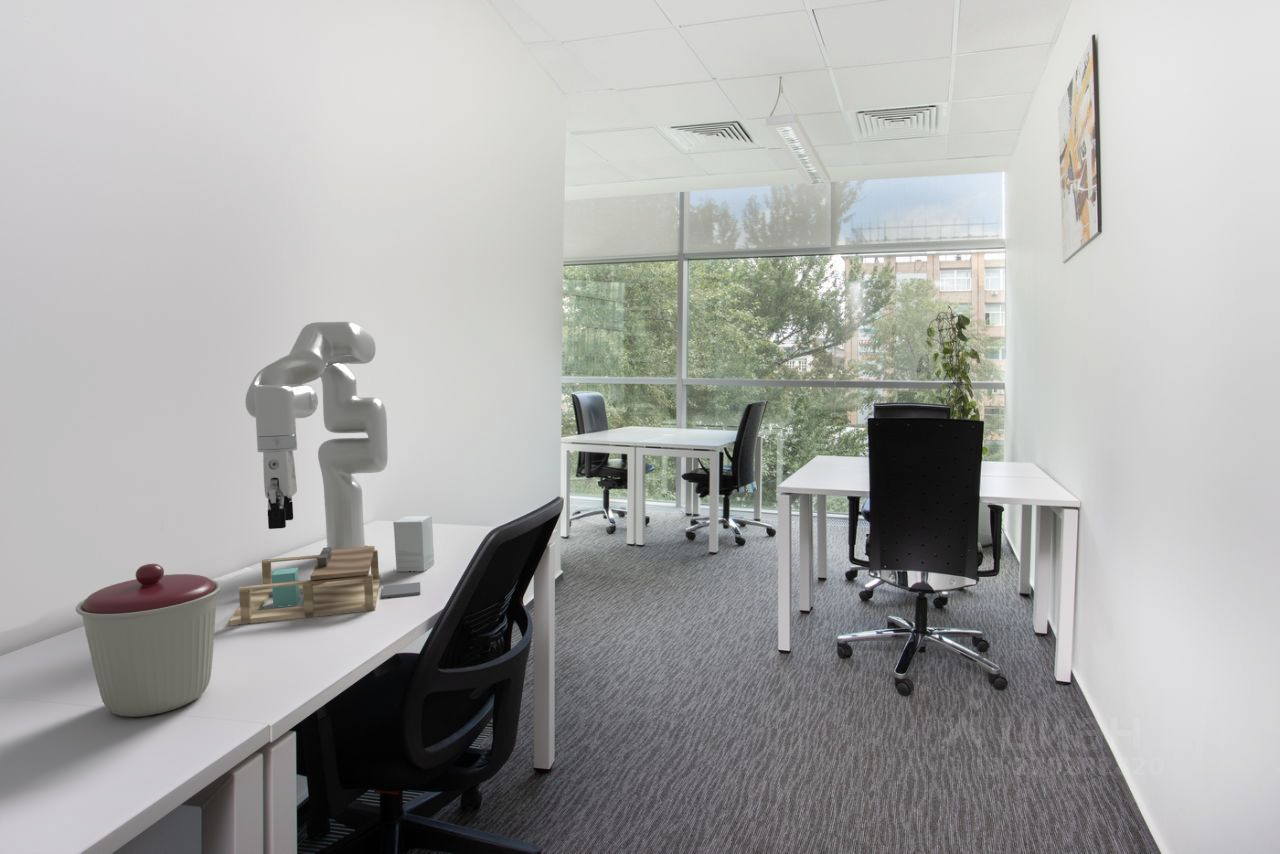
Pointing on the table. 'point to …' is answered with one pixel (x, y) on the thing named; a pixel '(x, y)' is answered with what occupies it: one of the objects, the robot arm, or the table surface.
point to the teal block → (285, 587)
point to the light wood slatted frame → (309, 595)
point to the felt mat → (401, 590)
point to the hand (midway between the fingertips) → (281, 524)
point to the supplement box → (413, 543)
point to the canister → (151, 640)
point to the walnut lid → (343, 562)
